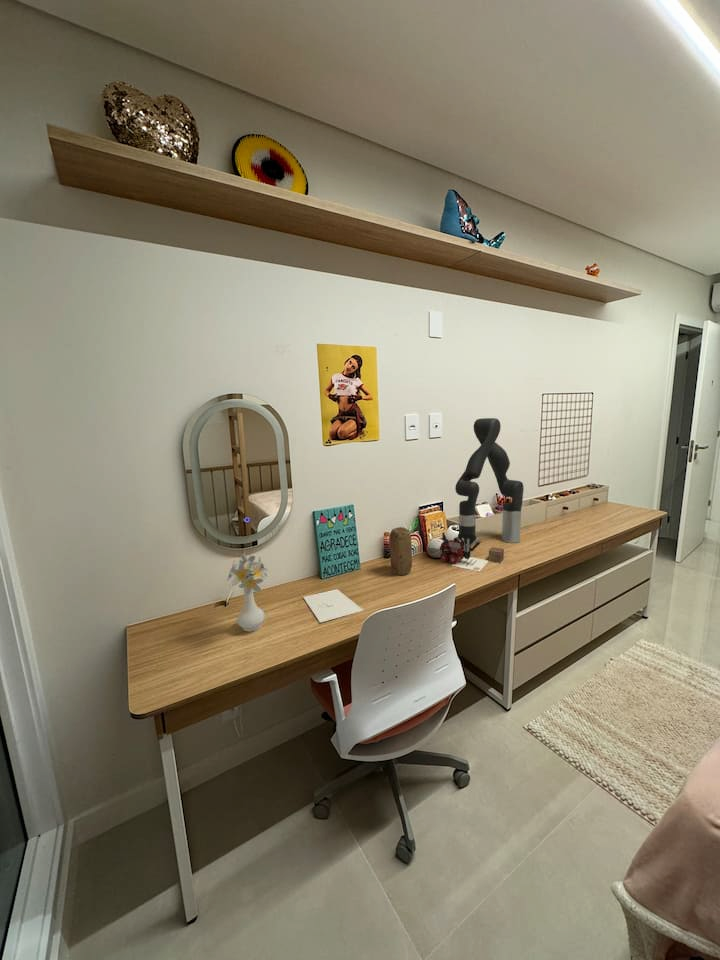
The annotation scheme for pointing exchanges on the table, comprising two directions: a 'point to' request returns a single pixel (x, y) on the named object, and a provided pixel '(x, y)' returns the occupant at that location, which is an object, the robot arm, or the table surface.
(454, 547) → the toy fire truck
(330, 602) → the paper sheet
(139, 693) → the table surface
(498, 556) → the cube
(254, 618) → the flower vase
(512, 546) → the table surface
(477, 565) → the letter
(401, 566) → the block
